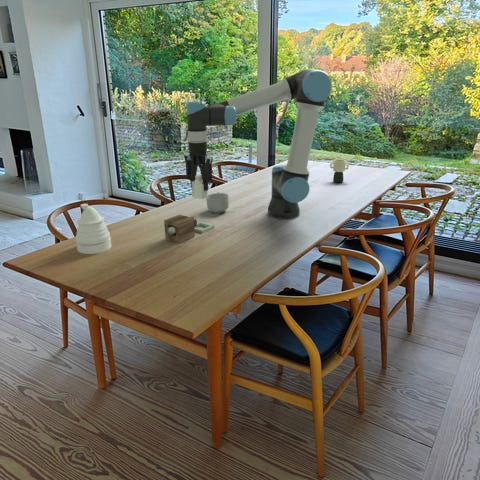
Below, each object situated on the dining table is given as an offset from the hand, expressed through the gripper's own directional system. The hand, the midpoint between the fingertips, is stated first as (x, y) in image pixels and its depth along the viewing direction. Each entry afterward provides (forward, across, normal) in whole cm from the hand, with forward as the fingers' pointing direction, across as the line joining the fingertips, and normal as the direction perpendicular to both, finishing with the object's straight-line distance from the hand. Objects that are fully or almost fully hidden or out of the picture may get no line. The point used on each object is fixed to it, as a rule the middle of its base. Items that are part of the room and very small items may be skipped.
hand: (199, 196), depth 190 cm
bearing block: (+14, 0, +14) cm, 20 cm away
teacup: (+14, +10, -25) cm, 31 cm away
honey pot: (+15, +21, +40) cm, 48 cm away
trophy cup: (+14, -15, -110) cm, 112 cm away
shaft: (+12, 0, +12) cm, 17 cm away
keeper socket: (+14, 0, 0) cm, 14 cm away
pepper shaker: (0, 0, 0) cm, 0 cm away
